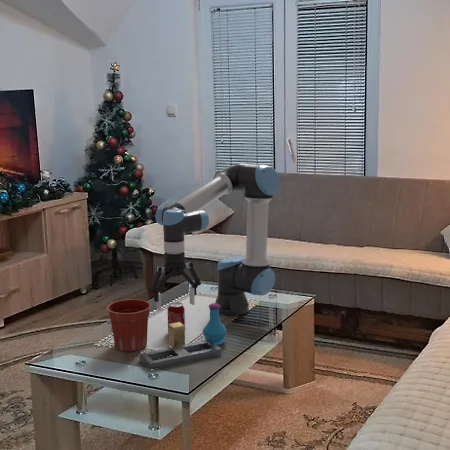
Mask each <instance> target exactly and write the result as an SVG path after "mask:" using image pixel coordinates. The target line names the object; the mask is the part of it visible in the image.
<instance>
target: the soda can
mask: <svg viewBox="0 0 450 450" xmlns="http://www.w3.org/2000/svg"><path fill="white" fill-rule="evenodd" d="M166 309H167V311H166V312H167V327H168V328H167V332H168V333H169V324H172V323H177V322H180V323H182V324H183V325H184V326H185V327H186V319H185V318H186V317H185V316H186V315H185V307H184V305H183V302H179V301H178V302H177V301H175V302H170V303H169V304H168V307H167V308H166Z"/></svg>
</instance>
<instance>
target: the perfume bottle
mask: <svg viewBox="0 0 450 450" xmlns="http://www.w3.org/2000/svg"><path fill="white" fill-rule="evenodd" d="M219 307H220V305H219V304H217V303H215V302H214V303H210V304H209V305H208V310H209V321H208V322H207V324H206V325H205V326H204V328H203V329H202V335H203V336H204V338H205V341H206V340H210V341H211V342H213V343H214V344H215V345H217V346H218V345H222V344H223V343H224V340H225V337H226V335H227V332H228V331H227V328H226V326H225V325H224V324H223V323H222V322H221V320H220V314H219Z"/></svg>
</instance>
